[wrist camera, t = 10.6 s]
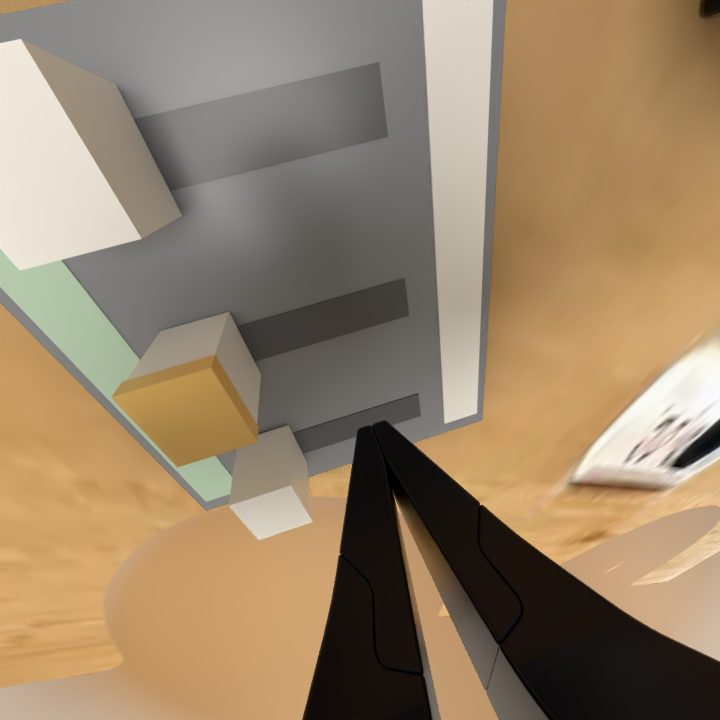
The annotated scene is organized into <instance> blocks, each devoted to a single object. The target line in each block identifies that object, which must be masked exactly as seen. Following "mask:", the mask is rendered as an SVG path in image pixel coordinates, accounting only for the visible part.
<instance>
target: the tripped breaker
mask: <svg viewBox="0 0 720 720" xmlns="http://www.w3.org/2000/svg"><path fill="white" fill-rule="evenodd" d="M260 381H261V373H260V371H259V369H258V368H257V366H256V364H255V362H254V360H253V358H252V356H251V354H250V352H249V350H248V348H247V346H246V344H245V342H244V340H243V338H242V336H241V334H240V332H239V330H238V328H237V326H236V324H235V322H234V320H233V318H232V317H231V315H230V313H229V312H226V313H222V314H219V315H215V316H212V317H208V318H205V319H201V320H198V321H194V322H191V323H187V324H184V325H180V326H177V327H173V328H169V329H166V330H162V331H160V332H159V334H158V335H157V337H156V338H155V340H154V341H153V342H152V344H151V345H150V347H149V348H148V350H147V351H146V353H145V354H144V355H143V357H142V358H141V360H140V361H139V363H138V364H137V365H136V367H135V368H134V370H133V371H132V373H131V374H130V376H129V377H128V378H127V380H126V381H123V382H122V383H121V384H120V386H119V387H118V388H117V390H116V391H115V393H114V394H113V395H112V397H111V398H112V399H113V400H114V401H115V402H116V403H117V404H118V405H119V406H120V407H121V408H122V409H123V410H124V411H125V412H126V414H127V415H128V416H129V417H130V418H131V419H132V420H133V421H134V422H135V423H136V424H137V425H138V426H139V427H140V428H141V429H142V430H143V432H144V433H145V434H146V435H147V436H148V437H149V438H150V439H151V440H152V441H153V442H154V443H155V444H156V445H157V446H158V447H159V449H160V450H161V451H162V452H163V453H164V454H165V455H166V456H167V457H168V458H169V459H170V460H171V461H172V462H173V463H174V464H175V465H176V467H177V468H178V467H181V466H184V465H187V464H190V463H193V462H197V461H200V460H203V459H206V458H209V457H212V456H216V455H219V454H222V453H225V452H228V451H231V450H235V449H238V448H241V447H244V446H247V445H250V444H253V443H257V442H258V428H259V427H258V425H257V419H258V407H259V394H260Z"/></svg>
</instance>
